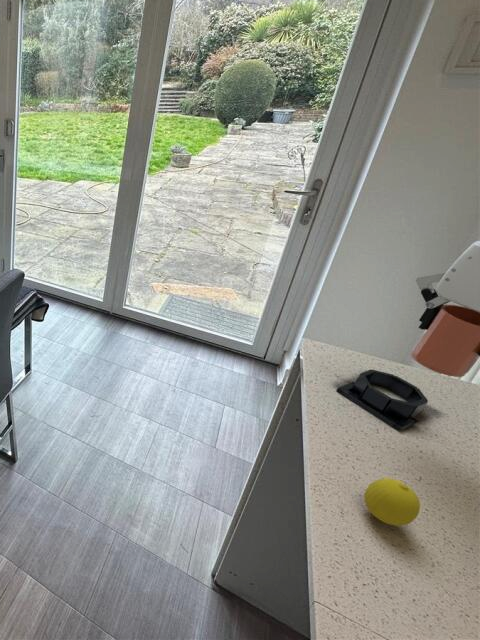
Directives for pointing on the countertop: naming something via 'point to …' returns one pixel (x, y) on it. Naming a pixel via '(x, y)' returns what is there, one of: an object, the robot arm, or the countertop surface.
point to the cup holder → (386, 398)
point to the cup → (450, 341)
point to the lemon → (392, 501)
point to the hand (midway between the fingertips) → (454, 339)
